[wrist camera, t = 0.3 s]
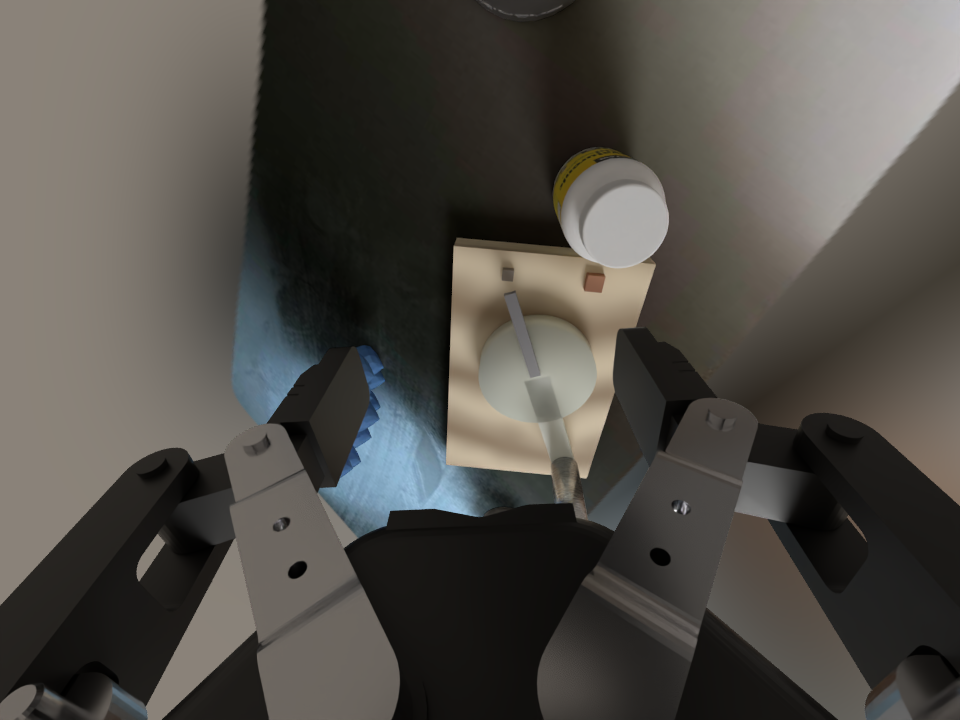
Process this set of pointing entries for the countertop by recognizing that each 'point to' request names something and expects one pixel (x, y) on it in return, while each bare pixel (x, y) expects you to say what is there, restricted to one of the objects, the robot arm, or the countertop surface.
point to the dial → (541, 385)
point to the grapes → (374, 379)
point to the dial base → (541, 291)
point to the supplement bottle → (610, 207)
